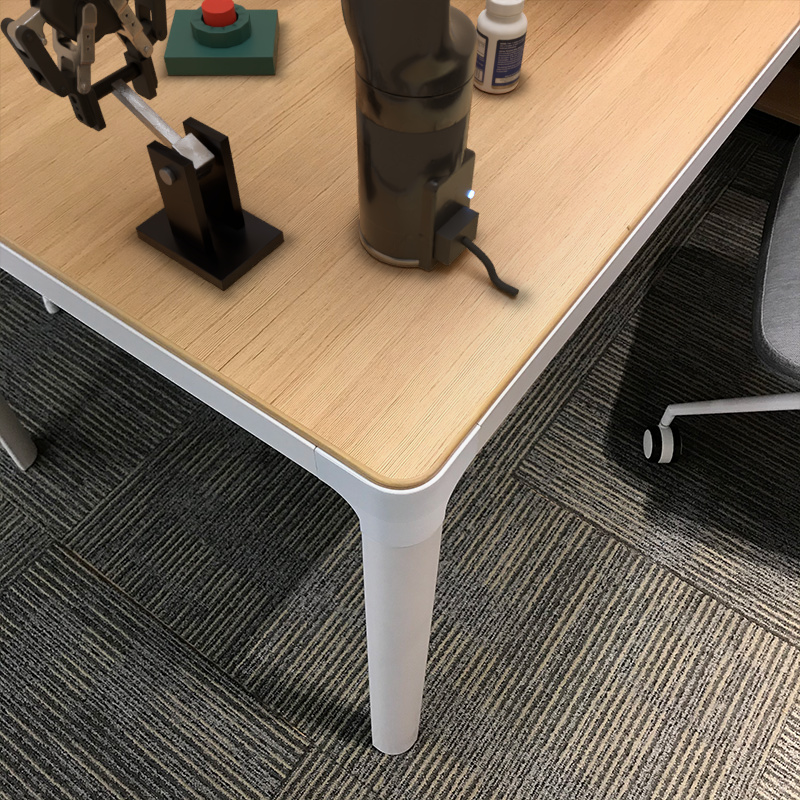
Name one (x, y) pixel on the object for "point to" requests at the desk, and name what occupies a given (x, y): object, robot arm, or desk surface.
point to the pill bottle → (500, 45)
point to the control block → (223, 44)
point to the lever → (154, 118)
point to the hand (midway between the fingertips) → (121, 109)
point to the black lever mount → (205, 213)
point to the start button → (218, 12)
